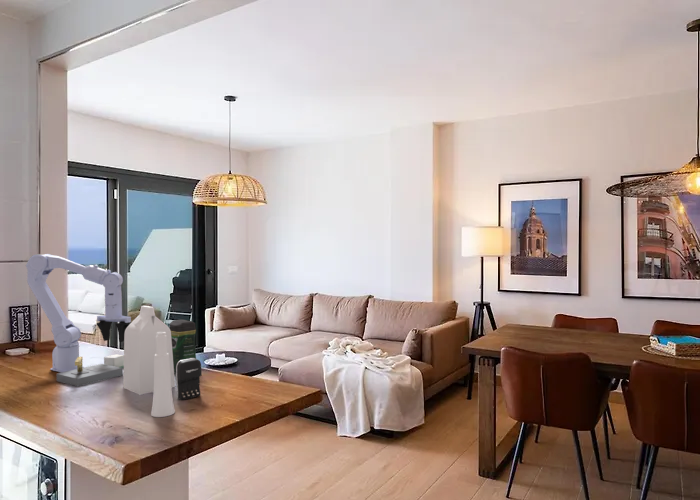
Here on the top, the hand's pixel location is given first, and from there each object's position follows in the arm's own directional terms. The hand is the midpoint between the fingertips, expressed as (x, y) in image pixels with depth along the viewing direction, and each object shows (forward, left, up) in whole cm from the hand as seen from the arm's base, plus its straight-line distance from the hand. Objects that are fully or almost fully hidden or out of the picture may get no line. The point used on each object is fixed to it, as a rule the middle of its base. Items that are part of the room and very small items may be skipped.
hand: (114, 340), depth 190 cm
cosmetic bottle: (+61, -24, -10) cm, 66 cm away
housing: (+7, -14, -10) cm, 18 cm away
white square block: (0, 0, -10) cm, 10 cm away
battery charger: (+56, -11, -10) cm, 58 cm away
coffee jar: (+28, +9, -10) cm, 31 cm away
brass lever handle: (+9, -18, -7) cm, 22 cm away
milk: (+35, -10, -10) cm, 38 cm away
